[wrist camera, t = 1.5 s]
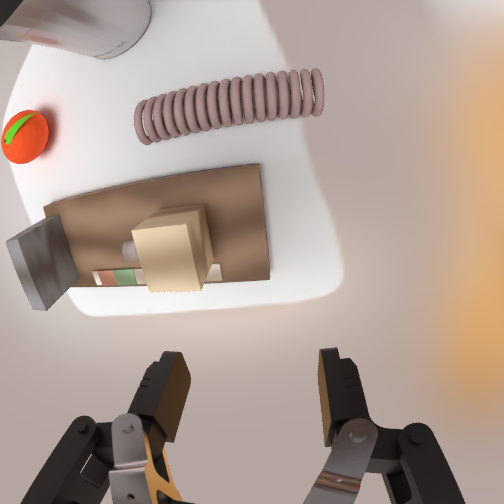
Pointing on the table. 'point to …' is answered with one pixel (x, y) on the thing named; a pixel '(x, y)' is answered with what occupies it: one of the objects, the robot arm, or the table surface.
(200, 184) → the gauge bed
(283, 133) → the table surface
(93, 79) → the table surface
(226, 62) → the table surface
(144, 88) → the table surface
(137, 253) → the block
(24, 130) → the clementine
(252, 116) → the coil
